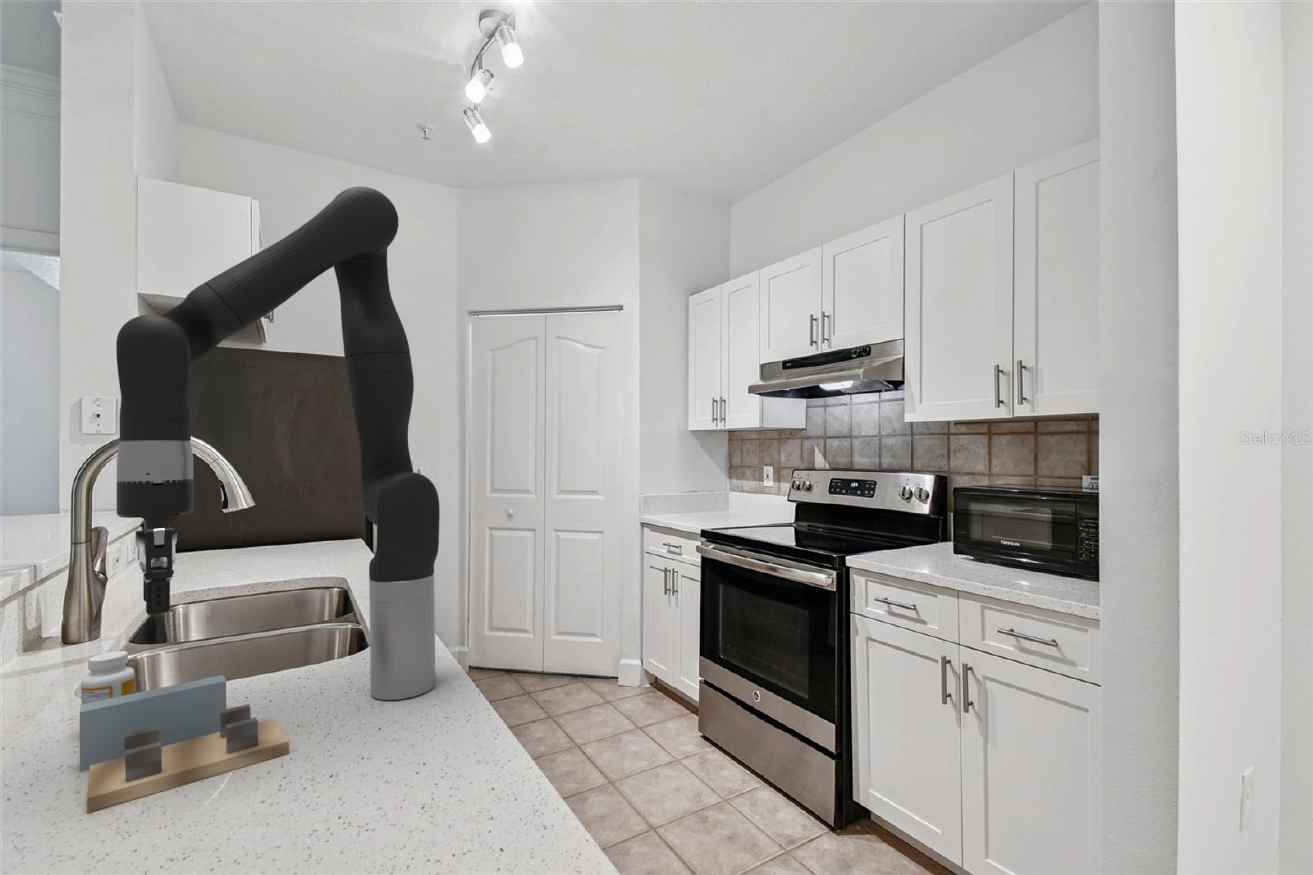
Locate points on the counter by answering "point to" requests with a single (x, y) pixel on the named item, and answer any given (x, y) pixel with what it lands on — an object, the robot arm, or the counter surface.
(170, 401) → the robot arm
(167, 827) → the counter surface
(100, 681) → the supplement bottle
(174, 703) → the blue grey rectangular block
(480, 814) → the counter surface
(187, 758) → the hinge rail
